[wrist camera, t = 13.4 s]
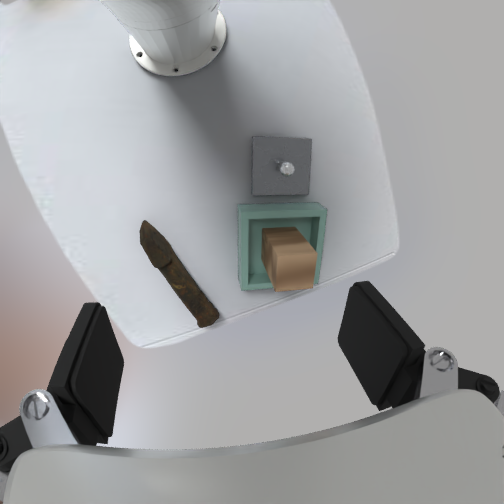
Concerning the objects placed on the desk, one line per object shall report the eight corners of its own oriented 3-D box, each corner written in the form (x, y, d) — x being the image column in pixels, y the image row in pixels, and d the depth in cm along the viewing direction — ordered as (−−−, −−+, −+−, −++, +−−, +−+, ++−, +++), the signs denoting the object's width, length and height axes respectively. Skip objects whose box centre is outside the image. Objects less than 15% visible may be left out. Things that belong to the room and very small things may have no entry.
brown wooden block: (262, 228, 41) (277, 255, 33) (295, 226, 42) (317, 253, 34) (261, 258, 43) (275, 291, 35) (292, 256, 44) (312, 288, 36)
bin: (237, 204, 40) (240, 212, 36) (317, 202, 41) (327, 209, 38) (238, 278, 45) (241, 290, 42) (310, 272, 47) (317, 283, 44)
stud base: (252, 136, 36) (258, 138, 32) (309, 138, 37) (320, 140, 33) (251, 193, 39) (257, 201, 36) (306, 192, 40) (316, 200, 37)
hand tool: (219, 307, 47) (221, 325, 43) (198, 316, 47) (199, 334, 43) (161, 210, 38) (156, 221, 34) (137, 222, 38) (131, 235, 34)
